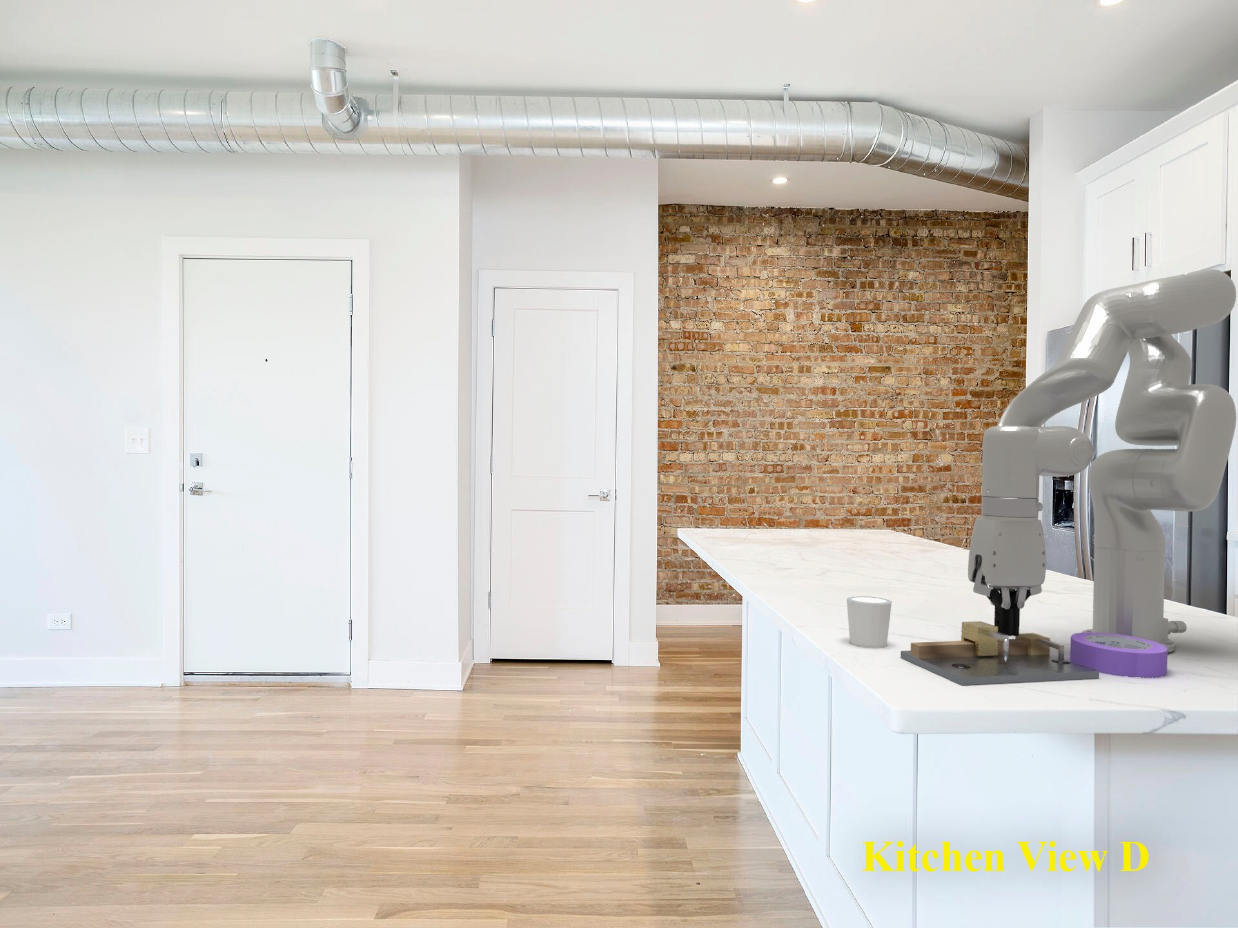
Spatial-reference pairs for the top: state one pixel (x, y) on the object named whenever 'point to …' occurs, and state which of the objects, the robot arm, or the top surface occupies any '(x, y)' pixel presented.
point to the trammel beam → (1019, 645)
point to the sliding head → (985, 638)
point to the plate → (1003, 668)
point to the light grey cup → (868, 620)
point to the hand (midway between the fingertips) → (1006, 633)
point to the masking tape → (1119, 654)
